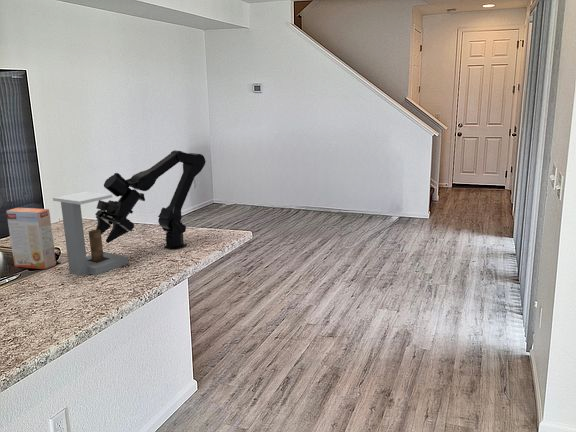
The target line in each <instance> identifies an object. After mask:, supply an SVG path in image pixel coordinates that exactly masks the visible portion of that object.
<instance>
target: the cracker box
mask: <svg viewBox="0 0 576 432" xmlns="http://www.w3.org/2000/svg"><path fill="white" fill-rule="evenodd" d="M50 214H51V213H50V209H49V208H34V207H14V208H11V209H7V210H6V219H7V225H8V232H9V238H10V239H9V240H10V245H11V251H12V258H13V264H14V265H13V266H14V267H16V268H26V269H34V270H35V269H37V270H47V269H50V268H51V267H54V266H56V265H57V262H56V261H57V260H56V254H55V253H56V252H55V243H54V237H53V230H52V229H53V228H52V222H51V221H52V220H51V215H50Z"/></svg>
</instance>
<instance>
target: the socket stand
mask: <svg viewBox="0 0 576 432" xmlns="http://www.w3.org/2000/svg"><path fill="white" fill-rule="evenodd" d="M111 198H113V194H112V193H111V194H110V193H102V192H95V191H82V192H75V193H71V194H70V193H69V194H66V195H61V196H55V197H52V201H53V202H59V203H60V205H61V207H60V208H61V215H62V222H63V230H64V237H65V238H64V239H65V246H66V247H65V248H66V254H67V261H68V262H67V263H68V271H69V274H70V275H71V274H72V275H75V276H79V277H82V276H85V275H87V274H89V275H93V276H98V275H101V274H103V273H106V272H109V271H111V270H115V269H117V268H120V267H123V266H125V265H129V258H128V257H129V256H125V255H120V254H115V253H111V252H106V251H103V256H104V261H101V262H98V263H96V262H92V257H91V254H90V255H87V252H86V251H87V249H86V243H85V235H84V234H85V232H84V226H83V225H84V224H83V217H82V207H81V205H84V204H88V203H94V202H98V201H99V200H101V201H104V200H107V199H111Z"/></svg>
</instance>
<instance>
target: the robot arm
mask: <svg viewBox="0 0 576 432" xmlns="http://www.w3.org/2000/svg"><path fill="white" fill-rule="evenodd" d="M179 163H182V174H181V177H180V180H179V181H178V184H177V186H176V188H175V192H174V193H173V196H172V198H171V199H170V200H171V201H170V203H169V205H167V207H162V208H161V210H160V214H158V215H157V217H158V221H157V222H158V225H159V226H160V227H161V228H162V230H163V231H164V232H165V245H164V246H163V248H167V249H172V250H177V249H181V248H184V247H187V243H185V242H184V233H185V232H186V230H187V226H186V225H184V223H182V217H183V215H182V209H183V206H184V205H185V201H186V198H187V197H188V194H189V192H190V190H191V187H192V184H193V182H194V180H195V177H196V176H197V175H199V173H201V172H202V170H203V168H204V167H205V165H206V158H205V156H204V155H203V154H201V153H196V152H195V153H193V152H189V153H188V152H184V151H182V150H173V151H171V152H170V153H169V154H168V155H166V156H165V157H164V158H162V159H161V160H160V161H157V163H155V164H154V165H152V166H151V167H150V168H148V169H145V170H143V171H139V172H137V173H135V174H133V175H132V176H131V177H130V178H128V179H125V178H124V177H123V176H122V175H121V174H120V173H118V172H115V173H114V174H113V175H111V176H109V177H108V178H106V179H105V180H104V184H103V187H104V189H106V190H107V191H108V192H110V193H111V194H112V195H113V196H115V197H116V198H119V197H120V198H119V199H118V200H117V201H116V200H115V201H114V200H111V199H110V200H108V201H104V200H99V201H97V205H96V209H97V212H96V213H95V215H94V216H95V218H96V221H97V225H96V228H95V230H101V235H103V234H104V233H105V232H106V231H108V230H109V229H110V228H111V227H112V229H111V230H110V232H109V234H108V236H107V238H106V239H105V243H107V244H109V243H111V242H112V241H114V240H116V239H118V238H119V237H122V236H123V235H125V234H128V233H129V232H132V231H133V229H134V228H135V223H134V222H132V221H131V220H130V219H128V218H127V217H128V216H129V215H130V214H131V215H132V214H133V213H134V210H133V209H134V207H135V206H136V204H137V203H138V202H139V201H142V202H145V201H146V199H145V198H146V197H145V193H142V192H146V191H149V190H150V189H151V188H152V187H153V186H154V185H155V183H156V182H157V180H158V179H159V177H161V176H162V175H164V174H165V173H166V172H168V171H169V170H170V169H172V168H173V167H175V166H176V165H177V164H179ZM131 188H132V189H131ZM138 191H142V192H138Z"/></svg>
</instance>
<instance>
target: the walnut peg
mask: <svg viewBox="0 0 576 432" xmlns="http://www.w3.org/2000/svg"><path fill="white" fill-rule="evenodd" d="M88 236H89V237H88V238H89V247H90V255H91V257H92V262H96V263H98V262H101V261H104V256H103V252H104V248H103V241H102V240H103V239H102V234H101V230H96V229H91V230H89V231H88Z"/></svg>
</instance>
